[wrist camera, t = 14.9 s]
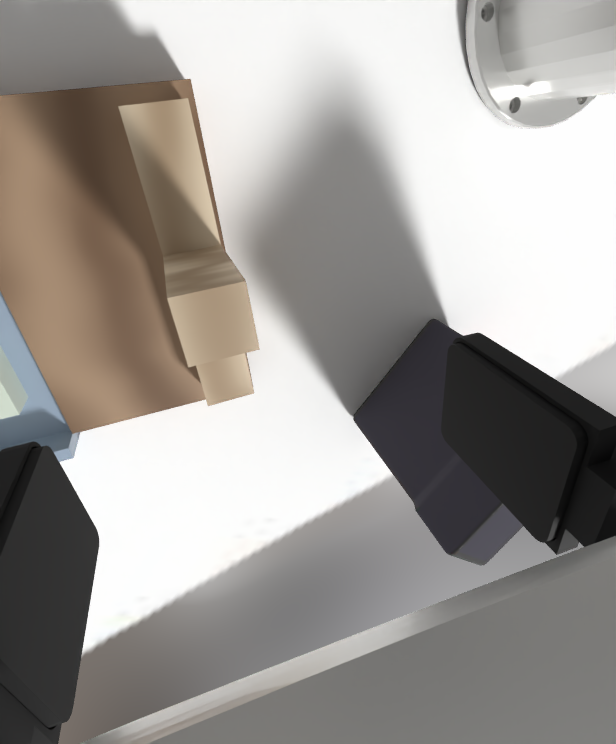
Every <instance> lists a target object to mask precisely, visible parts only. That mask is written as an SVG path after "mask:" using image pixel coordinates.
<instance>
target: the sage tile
mask: <svg viewBox="0 0 616 744" xmlns="http://www.w3.org/2000/svg"><path fill="white" fill-rule="evenodd" d="M27 399H28V395H27V394H26V392H25V390H24V388H23V386H22V384H21V382H20V381H19V379H18V377H17V375H16V373H15V371H14V370H13V368H12V366H11V364H10V362H9V360H8V359H7V357H6V355H5V353H4V351H3V349H2V348H1V346H0V419H4V418H8V417H12V416H16V415H20V413H21V411H22V409H23V407H24V405H25V403H26V401H27Z"/></svg>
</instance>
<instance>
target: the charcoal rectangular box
mask: <svg viewBox="0 0 616 744" xmlns="http://www.w3.org/2000/svg"><path fill="white" fill-rule="evenodd" d="M457 337H462V335H461V334H459V333H457V332H456V331H454V330H453V329H451V328H449V327H448V326H446V325H444V324H443V323H441V322H440V321H438V320H436V319H432V320H430V321H429V322H428V324H427V325H426V326H425V327H424V329H423V330H422V331H421V332H420V334H419V335H418V336H417V337H416V339H415V340H414V341H413V342H412V344H411V345H410V346H409V347H408V349H407V350H406V351H405V352H404V354H403V355H402V356H401V357H400V359H399V360H398V361H397V362H396V364H395V365H394V366H393V367H392V369H391V370H390V371H389V372H388V374H387V375H386V376H385V377H384V379H383V380H382V381H381V382H380V384H379V385H378V386H377V387H376V389H375V390H374V391H373V392H372V393H371V395H370V396H369V397H368V398H367V400H366V401H365V402H364V403H363V405H362V406H361V407H360V408H359V410H358V411H357V412H356V414H355V415H354V418H353V419H354V421H355V423H356V424H357V426H358V427H359V428H360V430H361V431H362V432H363V434H364V435H365V437H366V438H367V439H368V441H369V442H370V443H371V445H372V446H373V448H374V449H375V450H376V452H377V453H378V454H379V456H380V457H381V458H382V460H383V461H384V463H385V464H386V465H387V467H388V468H389V469H390V471H391V472H392V474H393V475H394V476H395V478H396V479H397V480H398V481H399V483H400V484H401V486H402V487H403V489H404V490H405V491H406V493H407V494H408V495H409V497H410V498H411V499H412V501H413V502H414V505H415V509H416V512H417V513H418V515H419V516H420V517H421V519H422V520H423V521H424V523H425V524H426V526H427V527H428V528H429V530H430V531H431V533H432V534H433V535H434V537H435V538H436V540H437V541H438V542H439V544H440V545H441V546H442V548H443V549H444V550H445V552H446V553H447V554H449V555H451V556H454V557H457V558H460V559H463V560H466V561H469V562H472V563H475V564H478V565H485V564H486V563H487V562H488V561H489V560H490V559H491V558H492V557H493V556H494V555H495V554H496V553H497V552H498V551H499V550H500V549H501V548H502V547H503V546H504V545H505V544H506V543H507V542H508V541H509V540H510V539H511V538H512V537H513V536H514V535H515V534H516V533H517V532H518V531H519V530H520V529H521V528H522V527H523V525H522V524H521V523H520V522H519V521H518V519H517V518H516V517H515V516H514V515H513V514H512V513H511V512H510V511H509V510H508V509H507V508H506V506H505V505H504V504H503V503H502V502H501V501H500V500H499V499H498V498H497V497H496V496H495V495H494V493H493V492H492V491H491V490H490V489H489V488H488V487H487V486H486V485H485V484H484V483H483V482H482V480H481V479H480V478H479V477H478V476H477V475H476V474H475V473H474V472H473V471H472V470H471V469H470V467H469V466H468V465H467V464H466V463H465V462H464V461H463V460H462V459H461V458H460V457H459V456H458V454H457V453H456V452H455V451H454V450H453V449H452V448H451V447H450V446H449V445H448V444H447V442H446V441H445V440H444V438H443V436H442V432H441V422H442V410H443V399H444V388H445V376H446V365H447V353H448V348H449V346H450V345H452V344H453V341H454V340H455V339H456V338H457Z"/></svg>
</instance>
